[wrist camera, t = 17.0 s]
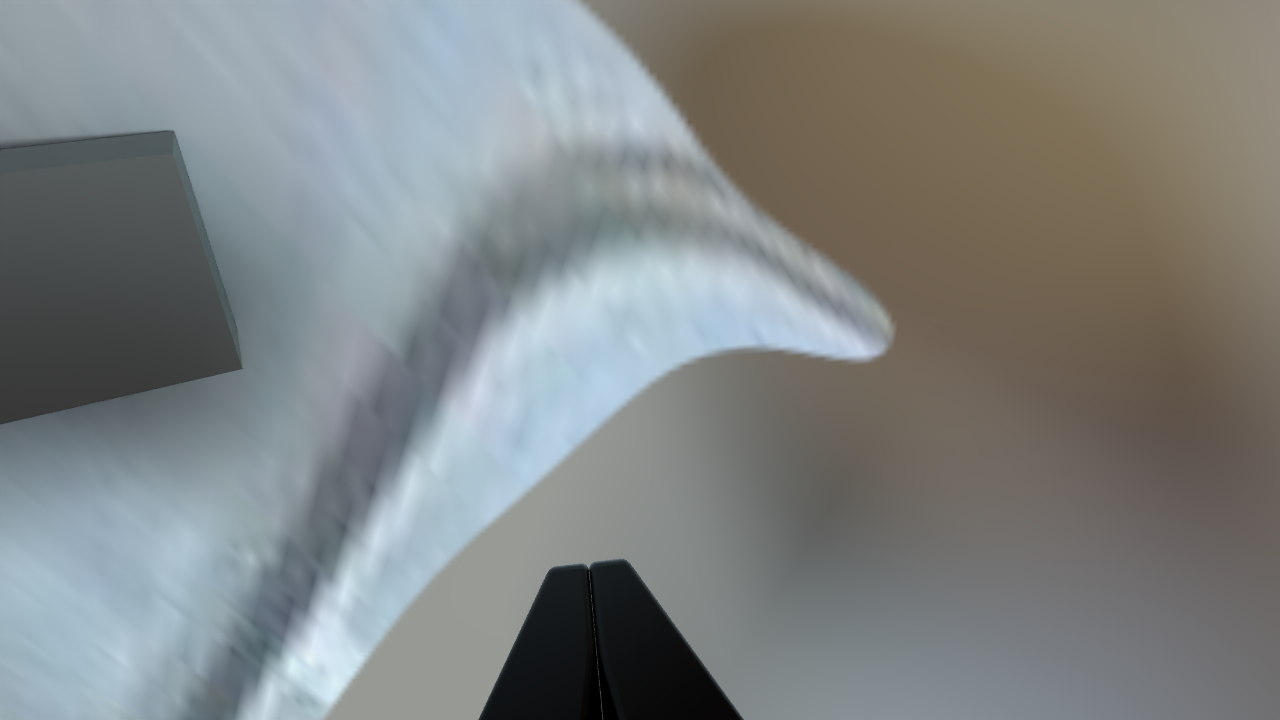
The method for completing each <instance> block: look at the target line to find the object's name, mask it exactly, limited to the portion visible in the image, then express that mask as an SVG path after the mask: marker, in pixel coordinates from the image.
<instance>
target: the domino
mask: <svg viewBox="0 0 1280 720" xmlns="http://www.w3.org/2000/svg"><path fill="white" fill-rule="evenodd" d="M239 369H243V368H242V361H241V354H240V347H239V340H238V333H237V327H236V324H235V321H234V318H233V315H232V311H231V308H230V305H229V302H228V299H227V296H226V293H225V289H224V286H223V283H222V280H221V277H220V274H219V271H218V267H217V264H216V261H215V258H214V255H213V252H212V249H211V245H210V242H209V239H208V236H207V233H206V230H205V227H204V223H203V220H202V217H201V214H200V211H199V208H198V205H197V201H196V198H195V195H194V192H193V189H192V186H191V183H190V179H189V176H188V173H187V170H186V167H185V164H184V161H183V157H182V154H181V151H180V148H179V145H178V142H177V139H176V135H175V132H174V131H166V132H157V133H148V134H139V135H130V136H121V137H112V138H102V139H93V140H84V141H75V142H66V143H57V144H48V145H38V146H29V147H20V148H11V149H2V150H0V424H4V423H8V422H13V421H17V420H21V419H26V418H30V417H34V416H39V415H43V414H47V413H52V412H56V411H61V410H65V409H69V408H74V407H78V406H82V405H87V404H91V403H95V402H100V401H104V400H109V399H113V398H117V397H122V396H126V395H130V394H135V393H139V392H143V391H148V390H152V389H156V388H161V387H165V386H170V385H174V384H178V383H183V382H187V381H191V380H196V379H200V378H204V377H209V376H213V375H217V374H222V373H226V372H231V371H235V370H239Z"/></svg>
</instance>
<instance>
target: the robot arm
mask: <svg viewBox="0 0 1280 720" xmlns="http://www.w3.org/2000/svg"><path fill="white" fill-rule="evenodd" d="M589 572H590V578H589ZM590 584H591V589H590ZM591 595H592V599H591ZM592 606H593V610H592ZM593 617H594V621H593ZM594 628H595V631H594ZM595 639H596V642H595ZM596 649H597V653H596ZM597 660H598V664H597ZM598 671H599V675H598ZM599 681H600V685H599ZM600 692H601V696H600ZM601 703H602V708H601ZM602 713H603V718H602ZM479 720H744V719H743V718H742V716H741V715H740V714H739V712H738V711H737V710H736V708H735V707H734V705H733V704H732V703H731V701H730V700H729V699H728V697H727V696H726V694H725V693H724V692H723V690H722V689H721V688H720V686H719V685H718V684H717V682H716V681H715V679H714V678H713V677H712V675H711V674H710V672H709V671H708V670H707V668H706V667H705V666H704V664H703V663H702V661H701V660H700V659H699V658H698V656H697V655H696V653H695V652H694V651H693V649H692V648H691V646H690V645H689V644H688V642H687V641H686V640H685V638H684V637H683V635H682V634H681V633H680V631H679V630H678V629H677V627H676V626H675V624H674V623H673V622H672V620H671V619H670V618H669V616H668V615H667V613H666V612H665V611H664V610H663V608H662V607H661V605H660V604H659V602H658V601H657V600H656V599H655V597H654V596H653V594H652V593H651V591H650V590H649V589H648V587H647V586H646V585H645V583H644V582H643V581H642V579H641V578H640V576H639V575H638V574H637V572H636V571H635V570H634V568H633V567H632V566H631V564H630V563H629V562H628V561H627V560H624V559H616V560H607V561H598V562H594V563H592V564H591V565H590V567H589V569H588V567H587V566H586V565H585V564H573V565H565V566H557V567H553V568H552V569H550V570H549V571H548V573H547V575H546V577H545V579H544V581H543V583H542V585H541V587H540V589H539V592H538V594H537V596H536V598H535V600H534V602H533V604H532V607H531V609H530V611H529V613H528V615H527V617H526V620H525V622H524V624H523V626H522V628H521V630H520V632H519V634H518V637H517V639H516V641H515V643H514V645H513V647H512V649H511V651H510V653H509V656H508V658H507V660H506V662H505V664H504V666H503V669H502V671H501V673H500V675H499V677H498V679H497V681H496V683H495V686H494V688H493V690H492V692H491V694H490V696H489V698H488V700H487V702H486V705H485V707H484V709H483V711H482V713H481V715H480V718H479Z"/></svg>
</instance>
